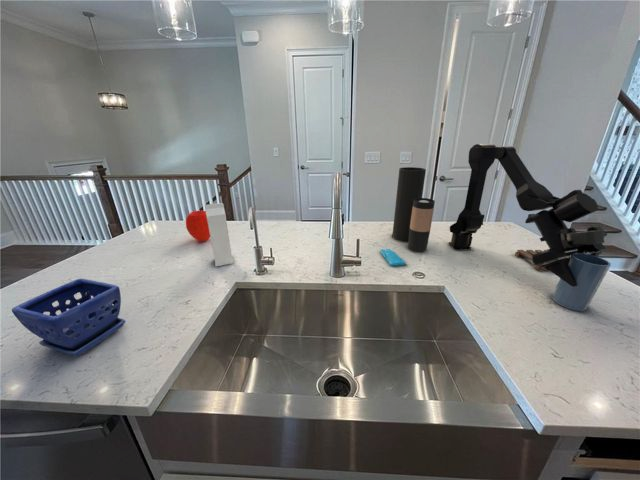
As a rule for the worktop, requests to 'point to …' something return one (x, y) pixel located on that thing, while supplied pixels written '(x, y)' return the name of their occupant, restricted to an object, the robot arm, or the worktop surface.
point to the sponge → (392, 257)
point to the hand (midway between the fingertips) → (585, 283)
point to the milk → (219, 233)
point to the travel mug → (420, 224)
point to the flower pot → (73, 315)
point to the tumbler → (581, 281)
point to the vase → (407, 199)
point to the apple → (198, 225)
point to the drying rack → (529, 255)
